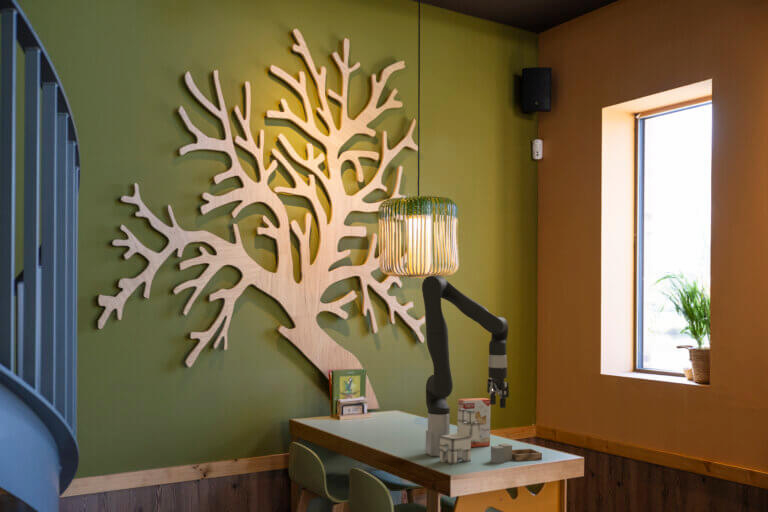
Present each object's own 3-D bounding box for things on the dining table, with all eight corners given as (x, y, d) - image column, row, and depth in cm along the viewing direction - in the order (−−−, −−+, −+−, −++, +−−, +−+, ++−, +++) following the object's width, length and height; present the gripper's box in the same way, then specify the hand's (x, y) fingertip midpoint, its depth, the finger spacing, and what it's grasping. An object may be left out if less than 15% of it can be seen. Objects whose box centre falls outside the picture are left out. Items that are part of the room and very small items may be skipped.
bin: (515, 461, 297) (515, 454, 298) (505, 456, 306) (505, 450, 306) (541, 459, 301) (541, 453, 301) (530, 454, 310) (530, 448, 310)
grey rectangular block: (495, 463, 293) (495, 448, 293) (490, 461, 297) (490, 446, 297) (504, 462, 294) (504, 447, 294) (499, 460, 298) (499, 445, 298)
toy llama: (435, 461, 294) (435, 411, 295) (466, 456, 305) (466, 408, 306) (447, 465, 288) (448, 414, 289) (479, 459, 299) (479, 410, 300)
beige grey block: (504, 461, 297) (504, 446, 297) (498, 459, 301) (498, 444, 301) (512, 460, 299) (512, 445, 299) (506, 458, 303) (506, 443, 303)
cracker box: (462, 448, 321) (463, 400, 322) (456, 445, 326) (456, 398, 327) (490, 446, 326) (491, 399, 327) (484, 443, 331) (484, 397, 333)
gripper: (481, 364, 303) (481, 404, 302) (497, 368, 290) (497, 409, 289) (497, 364, 305) (498, 403, 305) (514, 367, 292) (514, 408, 291)
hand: (497, 406), depth 297 cm, fingers open, 8 cm apart
